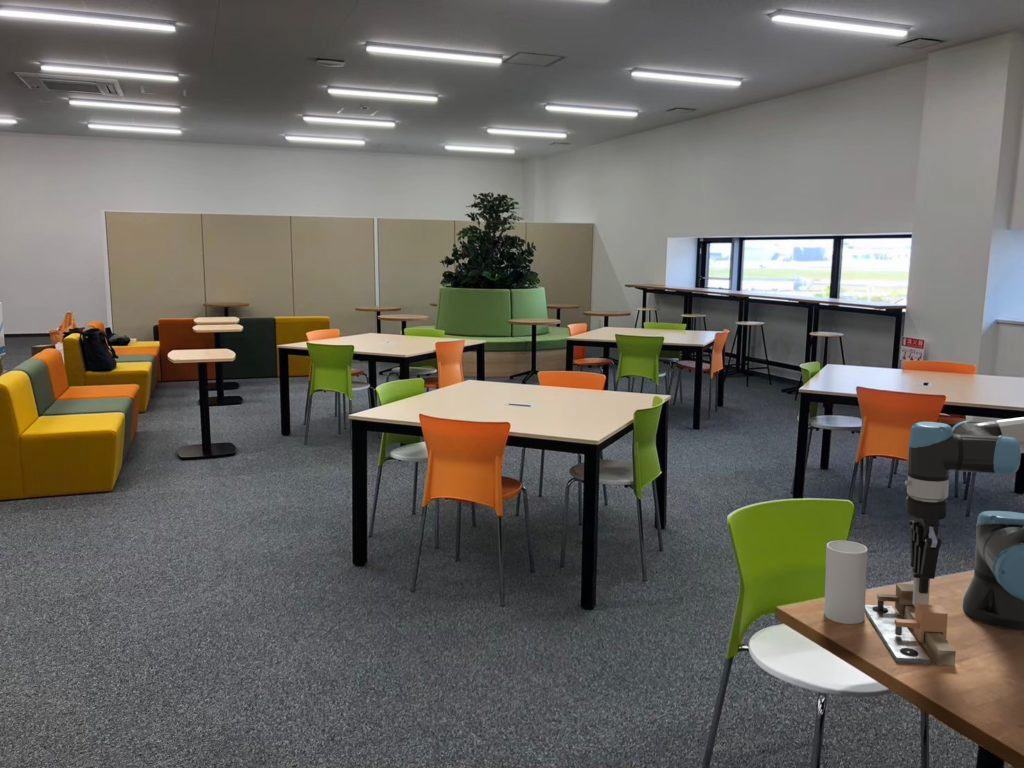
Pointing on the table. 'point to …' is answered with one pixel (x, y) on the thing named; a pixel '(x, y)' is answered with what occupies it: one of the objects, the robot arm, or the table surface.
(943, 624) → the block
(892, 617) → the bolt strip
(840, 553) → the cup
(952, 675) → the table surface
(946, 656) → the beam
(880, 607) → the fixed leg
